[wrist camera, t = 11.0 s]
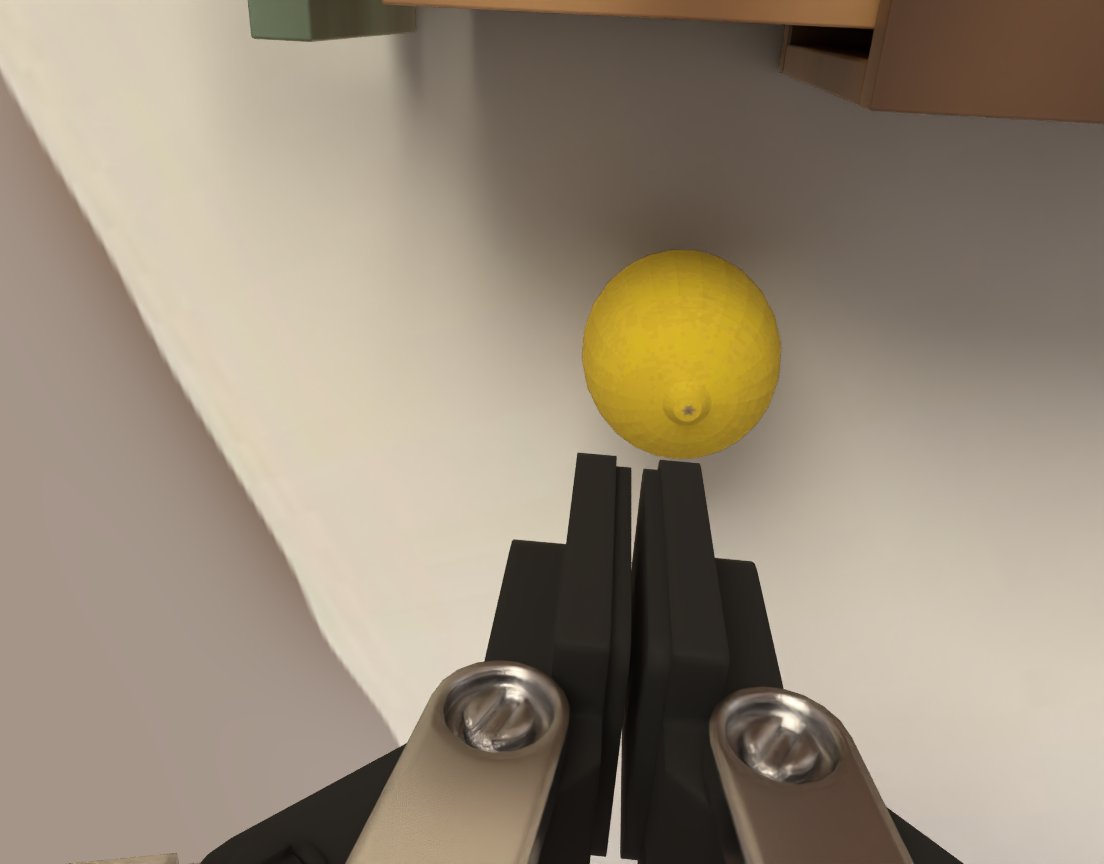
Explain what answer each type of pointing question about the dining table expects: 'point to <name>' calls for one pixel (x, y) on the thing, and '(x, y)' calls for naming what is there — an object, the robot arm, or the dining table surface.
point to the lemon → (681, 354)
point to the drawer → (390, 8)
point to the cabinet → (962, 59)
